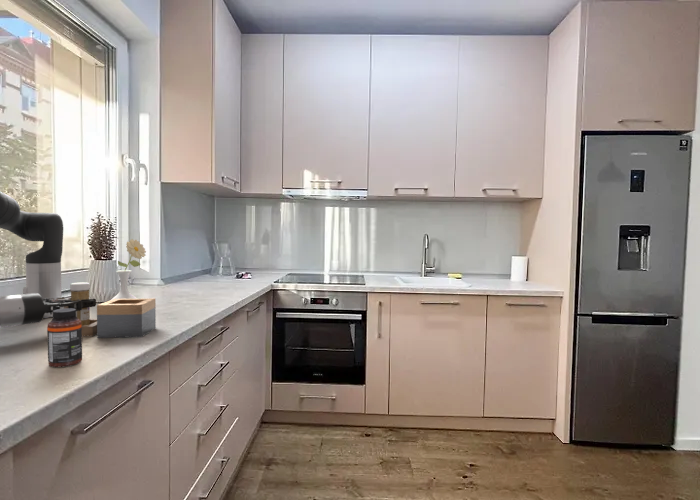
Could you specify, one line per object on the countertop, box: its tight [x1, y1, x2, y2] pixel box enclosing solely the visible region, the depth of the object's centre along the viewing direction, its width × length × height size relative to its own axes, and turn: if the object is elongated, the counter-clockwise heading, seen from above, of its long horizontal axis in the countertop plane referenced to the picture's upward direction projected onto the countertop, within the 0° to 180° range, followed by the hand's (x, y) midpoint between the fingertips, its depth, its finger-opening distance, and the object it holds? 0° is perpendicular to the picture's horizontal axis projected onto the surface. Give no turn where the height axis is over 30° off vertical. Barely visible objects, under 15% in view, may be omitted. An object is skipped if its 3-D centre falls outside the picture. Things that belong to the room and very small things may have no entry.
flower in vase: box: [110, 238, 147, 300], centre depth 151 cm, size 13×11×25 cm
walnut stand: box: [46, 318, 97, 338], centre depth 117 cm, size 11×11×2 cm
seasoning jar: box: [69, 281, 91, 325], centre depth 117 cm, size 5×5×14 cm
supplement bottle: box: [46, 308, 83, 368], centre depth 89 cm, size 6×6×11 cm
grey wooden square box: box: [96, 297, 157, 339], centre depth 117 cm, size 11×11×8 cm
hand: (90, 301), depth 119 cm, fingers closed on seasoning jar, 4 cm apart
